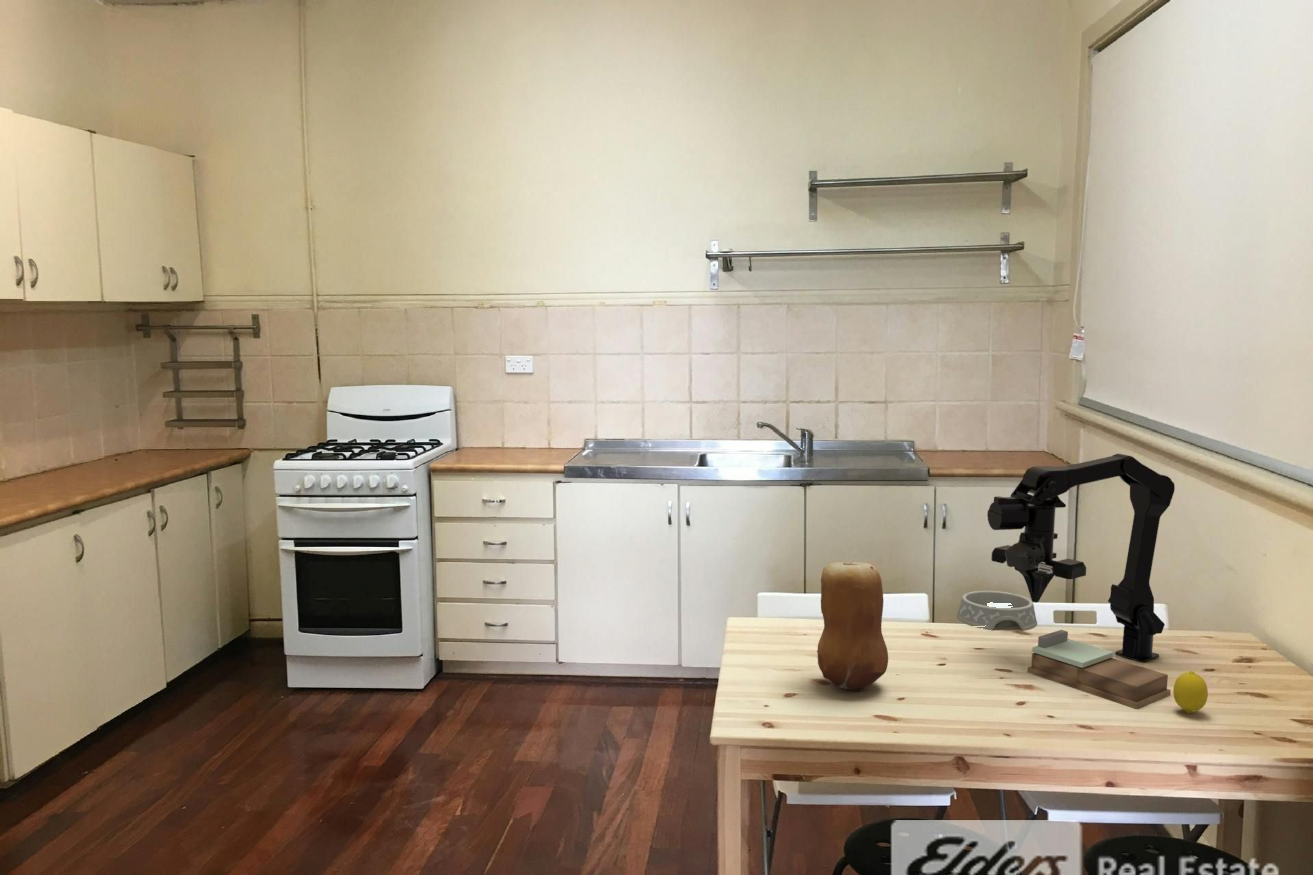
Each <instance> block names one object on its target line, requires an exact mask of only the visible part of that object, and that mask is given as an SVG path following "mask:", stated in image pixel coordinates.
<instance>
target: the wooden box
mask: <svg viewBox="0 0 1313 875" xmlns="http://www.w3.org/2000/svg"><path fill="white" fill-rule="evenodd" d="M1027 673H1028V674H1031V673H1032V675H1034V676H1038V677H1040V678H1044V679H1046V680H1049V681H1052V682H1055V683H1059V684H1061V685H1064V686H1067V687H1069V688H1074V689H1077V690H1080V691H1083V692H1084V693H1088V694H1092V695H1094V696H1097V697H1099V698H1102V699H1106V700H1109V701H1112V702H1115V703H1118V704H1122V705H1124V706H1126V707H1130V708H1133V709H1136V710H1137V709H1140V708H1142V707H1145V706H1147V705H1149V704H1152V703H1155V702H1157V701H1159V700H1162V699H1164V698H1167V697H1170V696H1171V692H1172V689H1168V678H1169V675H1168V674H1167V673H1164V672H1161V671H1157V670H1153V669H1151V668H1147V667H1144V666H1140V665H1137V664H1133V663H1129V662H1128V661H1127V662H1126V661H1124V660H1120V659H1117V658H1113V657H1112V658H1109V659H1106V660H1103V661H1100V662H1098V663H1095V664H1092V665H1089V666H1086V667H1083V668H1081V667H1078V666H1075V665H1072V664H1068V663H1065V662H1062V661H1059V660H1056V659H1053V658H1049V657H1046V656H1043V655H1040V654H1037V653H1034V652H1031V666H1028V667H1027Z"/></svg>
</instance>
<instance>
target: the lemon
mask: <svg viewBox="0 0 1313 875" xmlns="http://www.w3.org/2000/svg"><path fill="white" fill-rule="evenodd" d="M1207 685H1208V684H1207V683H1206V681H1205V680H1204V678H1203V677H1202V676H1200V675H1199V674H1198V673H1196V672H1195V671H1194V670H1190V671H1188V672H1184V673H1181V674H1179V676H1177V678H1176V680H1175V681H1174V685H1173V691H1172V692H1173V698H1174V701H1175V703H1176V704H1177V705H1178V707H1180V709H1183V710H1184V711H1185V712H1186V714H1192V713H1194V712H1197V711H1199V710H1202V709H1203V708H1204V707H1205V705H1206V703H1207V701H1208V695H1209V691H1208V686H1207Z"/></svg>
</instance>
